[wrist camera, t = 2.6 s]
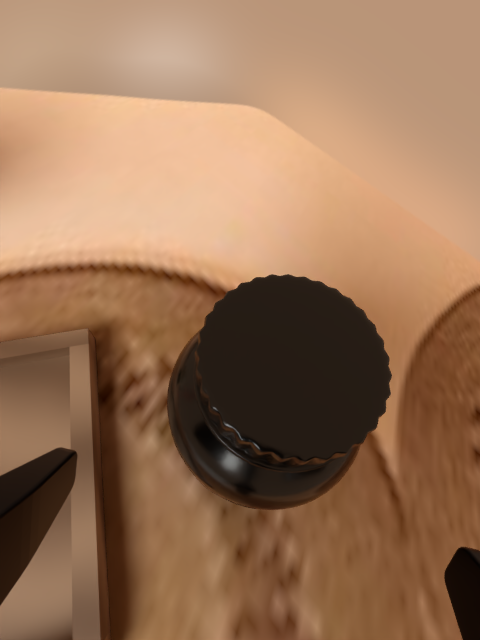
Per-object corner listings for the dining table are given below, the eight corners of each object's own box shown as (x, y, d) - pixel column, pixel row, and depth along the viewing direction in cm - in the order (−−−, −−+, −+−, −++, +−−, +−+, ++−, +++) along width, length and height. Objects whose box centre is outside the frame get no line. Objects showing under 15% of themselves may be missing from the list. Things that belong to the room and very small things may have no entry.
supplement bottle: (258, 356, 20) (324, 215, 10) (322, 455, 18) (501, 408, 7) (159, 409, 18) (105, 298, 7) (216, 531, 15) (256, 620, 5)
